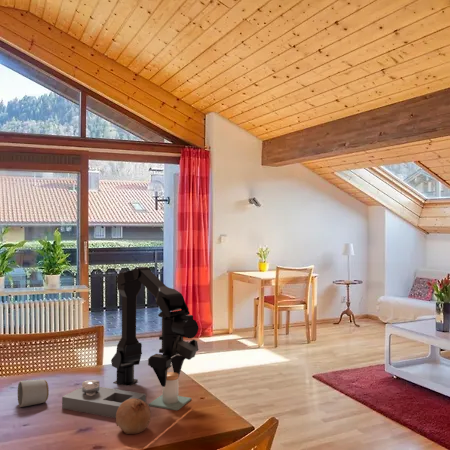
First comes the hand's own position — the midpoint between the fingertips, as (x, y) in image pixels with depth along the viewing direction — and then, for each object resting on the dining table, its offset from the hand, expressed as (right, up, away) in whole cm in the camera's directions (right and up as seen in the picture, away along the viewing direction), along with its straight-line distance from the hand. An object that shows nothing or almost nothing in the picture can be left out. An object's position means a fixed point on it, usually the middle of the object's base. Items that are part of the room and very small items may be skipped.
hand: (170, 381), depth 158 cm
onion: (-8, -8, -20) cm, 23 cm away
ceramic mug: (-44, -7, 0) cm, 45 cm away
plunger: (-25, -6, -2) cm, 25 cm away
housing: (-20, -7, -4) cm, 21 cm away
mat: (0, -7, 0) cm, 7 cm away
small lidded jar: (0, -6, 0) cm, 6 cm away
